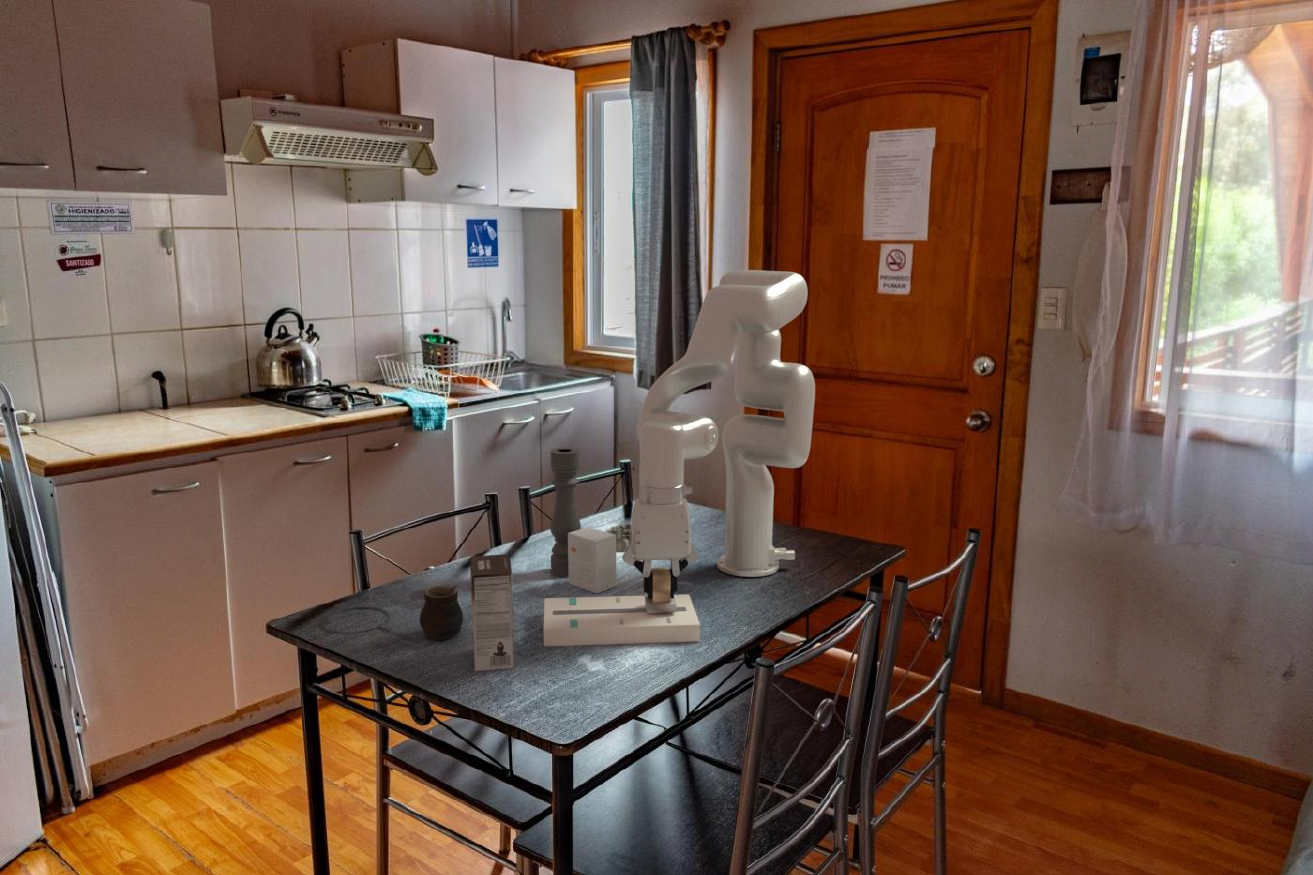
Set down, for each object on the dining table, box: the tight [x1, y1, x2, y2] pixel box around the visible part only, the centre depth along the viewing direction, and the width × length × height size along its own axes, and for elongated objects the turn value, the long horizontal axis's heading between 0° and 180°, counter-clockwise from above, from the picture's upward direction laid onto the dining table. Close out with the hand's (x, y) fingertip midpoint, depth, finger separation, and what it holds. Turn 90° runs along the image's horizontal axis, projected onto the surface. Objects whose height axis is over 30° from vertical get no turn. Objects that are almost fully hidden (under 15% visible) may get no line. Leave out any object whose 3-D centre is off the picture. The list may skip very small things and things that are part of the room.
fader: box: [644, 567, 676, 613], centre depth 172 cm, size 5×5×6 cm
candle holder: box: [549, 447, 582, 578], centre depth 197 cm, size 6×6×25 cm
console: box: [543, 593, 701, 647], centre depth 172 cm, size 26×14×3 cm, turn 96°
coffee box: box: [469, 553, 515, 672], centre depth 158 cm, size 9×6×16 cm
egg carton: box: [604, 521, 631, 553], centre depth 218 cm, size 11×8×4 cm
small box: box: [568, 526, 618, 594], centre depth 192 cm, size 8×6×10 cm
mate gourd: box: [419, 584, 464, 641], centre depth 168 cm, size 7×8×10 cm
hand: (660, 595), depth 172 cm, fingers closed on fader, 3 cm apart
